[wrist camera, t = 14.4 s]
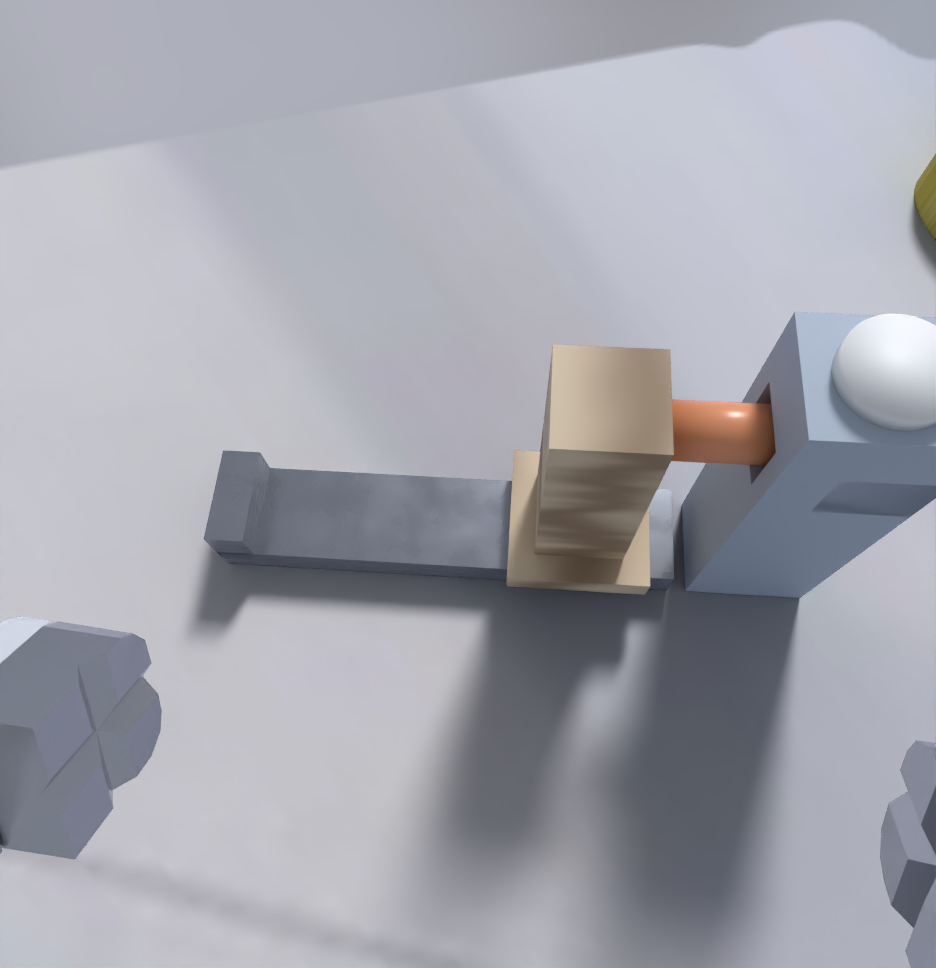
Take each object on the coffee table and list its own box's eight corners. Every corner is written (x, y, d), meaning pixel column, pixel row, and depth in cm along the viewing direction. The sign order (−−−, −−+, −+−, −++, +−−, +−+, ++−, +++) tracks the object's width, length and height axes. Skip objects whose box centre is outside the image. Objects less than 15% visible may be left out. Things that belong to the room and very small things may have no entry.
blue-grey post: (685, 590, 42) (818, 428, 24) (682, 504, 44) (803, 297, 26) (799, 598, 41) (1016, 438, 24) (791, 510, 43) (986, 304, 26)
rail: (228, 563, 43) (203, 539, 40) (245, 480, 45) (223, 450, 41) (666, 589, 42) (682, 567, 38) (663, 503, 44) (679, 474, 40)
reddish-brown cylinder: (654, 470, 31) (666, 443, 29) (653, 417, 32) (664, 387, 30) (795, 477, 31) (818, 451, 29) (789, 423, 32) (811, 394, 30)
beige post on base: (506, 586, 40) (510, 480, 27) (513, 462, 42) (519, 314, 30) (644, 594, 39) (713, 490, 27) (642, 469, 42) (703, 322, 30)
